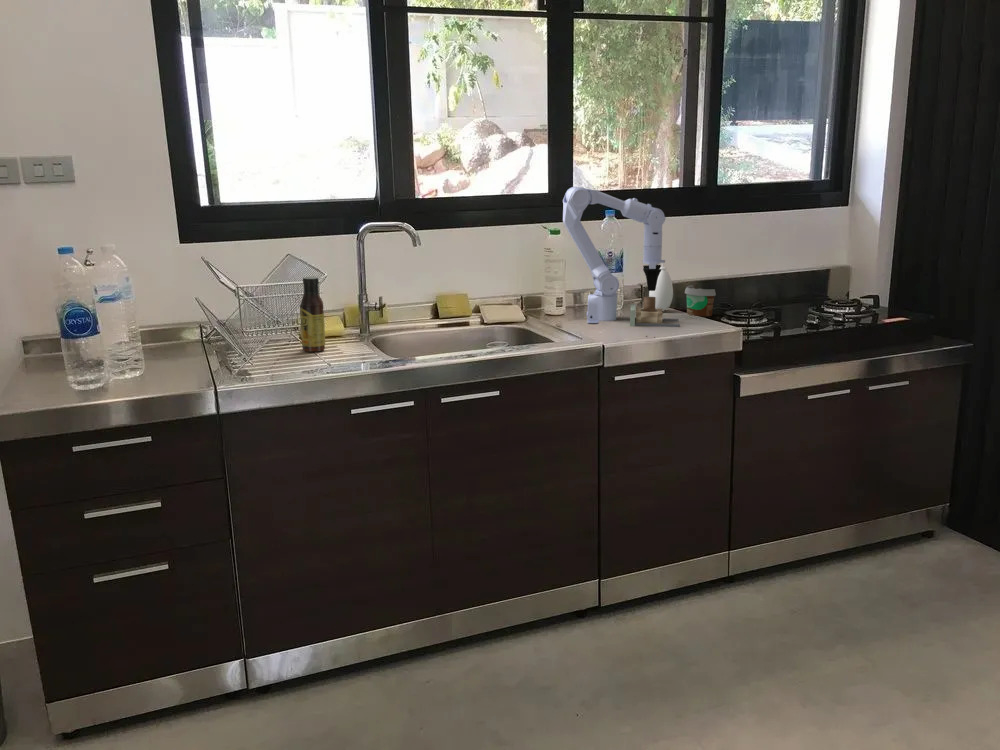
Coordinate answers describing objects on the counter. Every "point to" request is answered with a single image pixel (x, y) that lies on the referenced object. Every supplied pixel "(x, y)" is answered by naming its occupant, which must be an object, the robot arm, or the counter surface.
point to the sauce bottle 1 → (312, 317)
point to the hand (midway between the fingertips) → (651, 289)
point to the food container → (699, 301)
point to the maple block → (649, 316)
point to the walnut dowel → (649, 304)
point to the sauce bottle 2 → (663, 290)
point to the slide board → (633, 319)
